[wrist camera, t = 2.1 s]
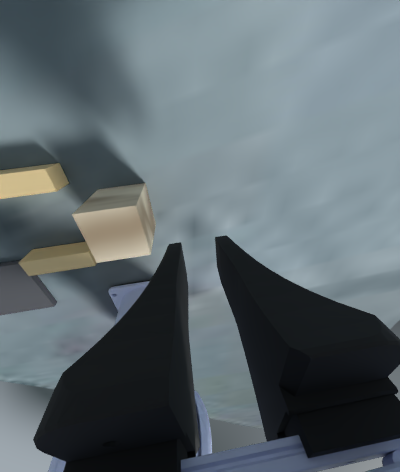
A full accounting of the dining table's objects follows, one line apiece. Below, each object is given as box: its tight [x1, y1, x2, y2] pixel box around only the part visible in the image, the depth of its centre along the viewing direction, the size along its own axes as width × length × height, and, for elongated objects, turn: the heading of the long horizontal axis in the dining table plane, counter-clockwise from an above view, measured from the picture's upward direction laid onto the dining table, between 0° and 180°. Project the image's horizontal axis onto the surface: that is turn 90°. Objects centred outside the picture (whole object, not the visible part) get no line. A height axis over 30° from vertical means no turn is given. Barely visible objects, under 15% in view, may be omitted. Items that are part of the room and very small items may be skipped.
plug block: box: [72, 183, 156, 263], centre depth 15 cm, size 4×4×5 cm
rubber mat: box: [0, 260, 57, 315], centre depth 20 cm, size 6×6×1 cm
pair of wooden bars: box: [0, 163, 97, 276], centre depth 16 cm, size 9×6×2 cm
